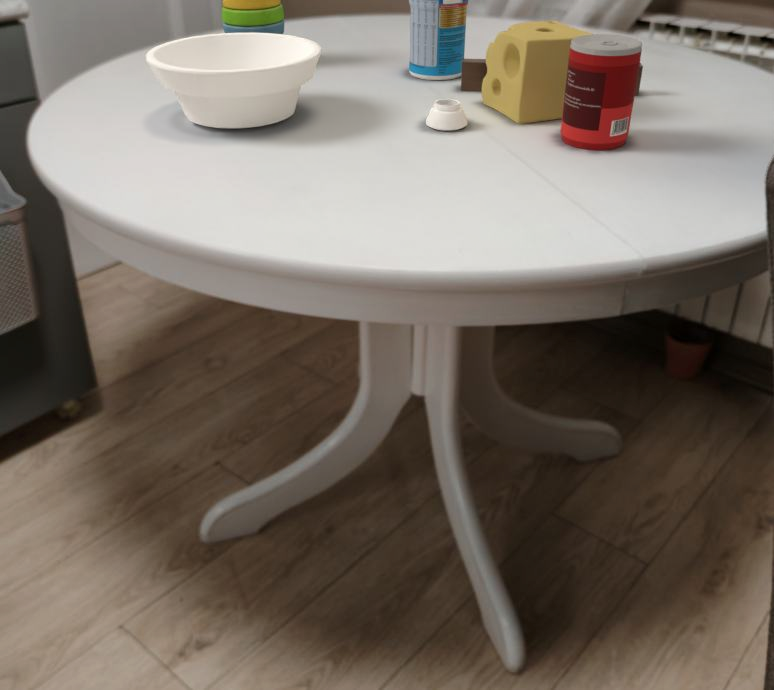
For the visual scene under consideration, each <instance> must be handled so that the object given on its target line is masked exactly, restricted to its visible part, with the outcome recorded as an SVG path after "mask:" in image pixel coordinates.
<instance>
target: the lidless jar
mask: <svg viewBox="0 0 774 690" xmlns="http://www.w3.org/2000/svg"><path fill="white" fill-rule="evenodd" d="M425 124H426V125H427V126H428V127H430V128H431V129H432V130H433V129H434V130H437V131H443V132H452V131H457V130H460V129H463V128H465V127H467V126H468V118H467V116H466V113H465V110H464V109H463V107H461V101H459V100H457V99H453V98H441V99H437V100H435V101H434V104H433V106H432V107H431V109H430V111H429V113H428V115H427V116H426V119H425Z"/></svg>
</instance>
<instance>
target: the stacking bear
mask: <svg viewBox="0 0 774 690" xmlns="http://www.w3.org/2000/svg"><path fill="white" fill-rule="evenodd" d="M283 7H284V6H283V4H282V3H281V0H222V8H221V20H222V29H223V32H224V33H274V34H284V33H285V13H284V8H283Z"/></svg>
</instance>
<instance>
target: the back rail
mask: <svg viewBox="0 0 774 690" xmlns="http://www.w3.org/2000/svg"><path fill="white" fill-rule="evenodd" d="M643 68H644V65H643V64H642V63H641V62H640V65H639V71H638V77H637V84H636V90H635V96H634V97H639V94H640V87H641V81H642V75H643ZM486 74H487V65H486V58H464V59H463V60H462V73H461V76H460V79H461V80H460V92H475V93H477V92H478V93H480V92H481V93H482V83H483V79H484V77H485V76H486Z"/></svg>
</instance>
